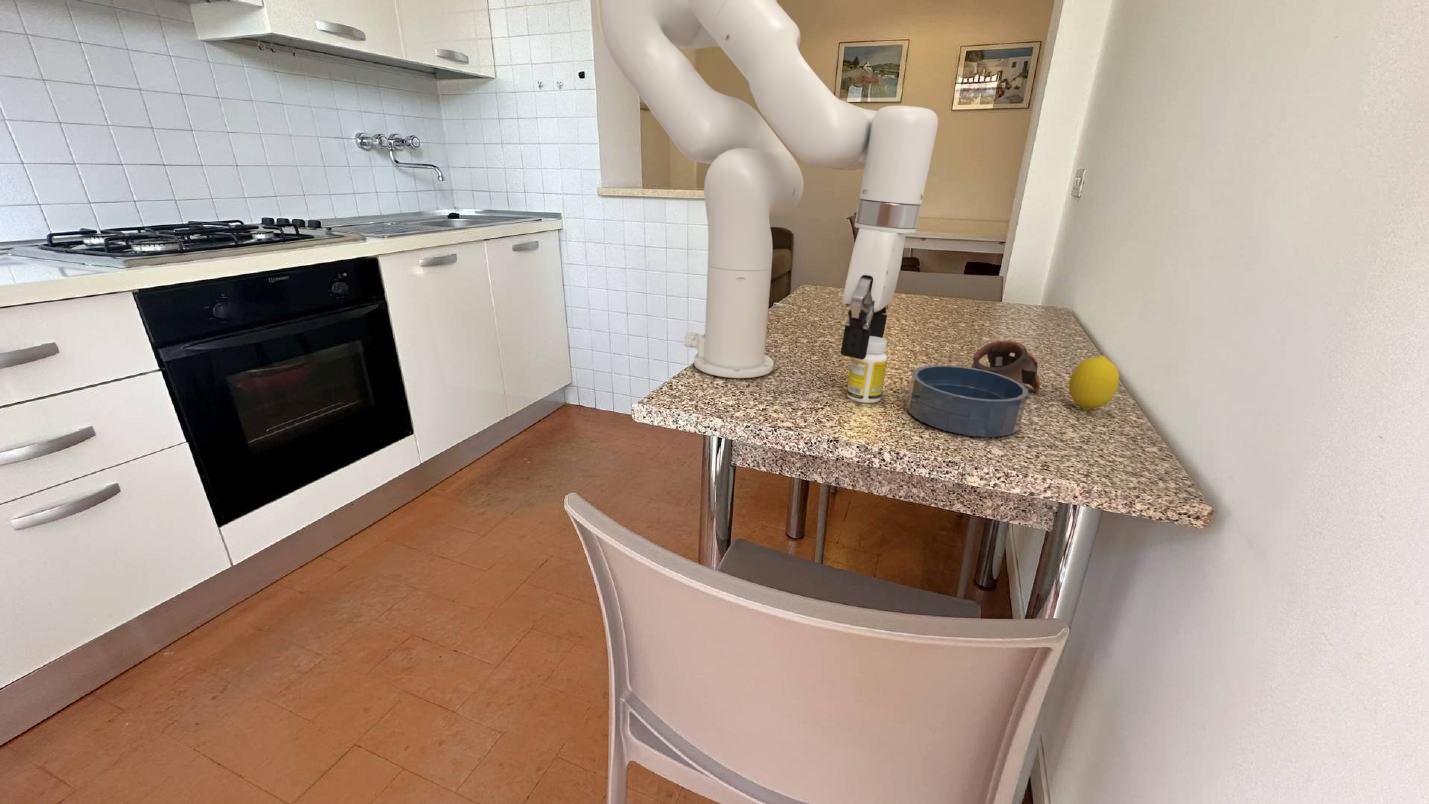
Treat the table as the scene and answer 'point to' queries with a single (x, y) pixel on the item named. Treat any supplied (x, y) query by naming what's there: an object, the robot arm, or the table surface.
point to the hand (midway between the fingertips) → (862, 348)
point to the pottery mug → (1009, 362)
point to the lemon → (1094, 382)
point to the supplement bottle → (868, 373)
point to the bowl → (966, 400)
